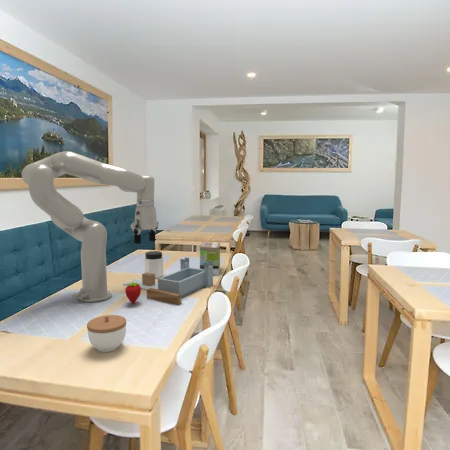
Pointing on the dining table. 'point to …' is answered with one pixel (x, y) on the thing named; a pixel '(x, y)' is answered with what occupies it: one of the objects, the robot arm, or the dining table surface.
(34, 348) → the dining table surface
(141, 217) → the robot arm
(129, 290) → the strawberry
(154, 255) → the jar
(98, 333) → the lidded jar
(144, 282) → the lid
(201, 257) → the tea box
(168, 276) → the toolbox
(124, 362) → the dining table surface
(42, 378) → the dining table surface
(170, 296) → the brown block
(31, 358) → the dining table surface
